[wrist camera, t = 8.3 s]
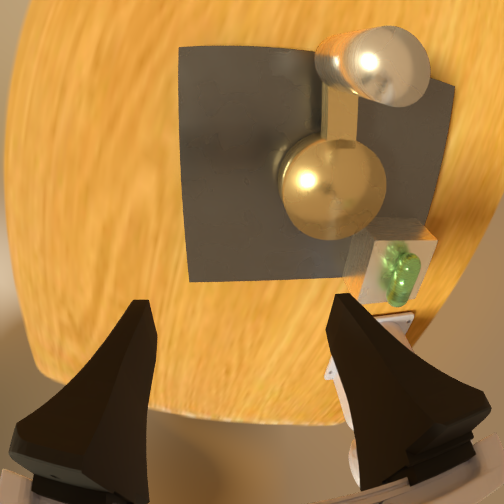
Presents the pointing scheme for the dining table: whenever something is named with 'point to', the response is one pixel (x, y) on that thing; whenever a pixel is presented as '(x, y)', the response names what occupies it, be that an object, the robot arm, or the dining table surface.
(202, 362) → the dining table surface
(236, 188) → the instrument base
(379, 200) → the gold rounded piece
